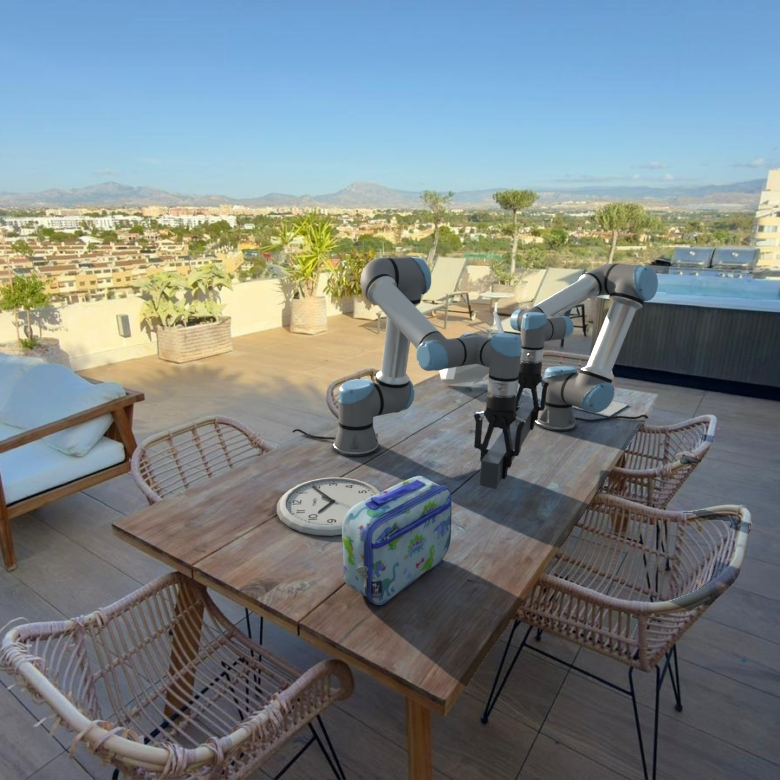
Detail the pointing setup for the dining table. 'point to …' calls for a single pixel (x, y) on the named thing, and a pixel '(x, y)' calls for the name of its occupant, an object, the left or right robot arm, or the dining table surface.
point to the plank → (503, 449)
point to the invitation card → (610, 408)
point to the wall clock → (322, 504)
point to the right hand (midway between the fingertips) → (524, 427)
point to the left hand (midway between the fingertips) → (494, 474)
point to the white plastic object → (470, 369)
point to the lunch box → (395, 537)
